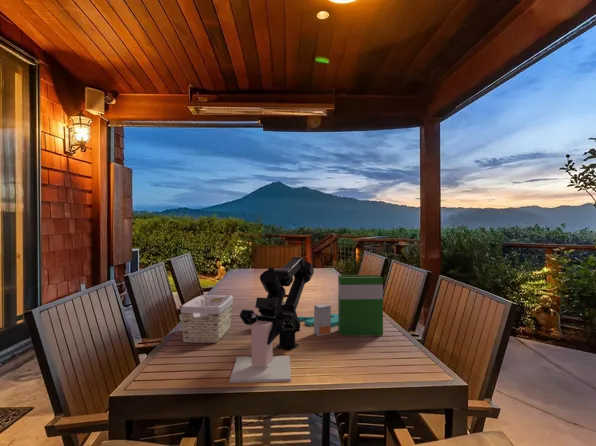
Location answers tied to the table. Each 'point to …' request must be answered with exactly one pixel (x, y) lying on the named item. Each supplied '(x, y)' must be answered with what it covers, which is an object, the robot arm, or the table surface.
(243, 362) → the white square plate
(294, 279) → the robot arm
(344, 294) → the green cereal box
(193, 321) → the storage basket
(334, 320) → the alien figure
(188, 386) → the table surface
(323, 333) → the skincare box
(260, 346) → the rose card box
